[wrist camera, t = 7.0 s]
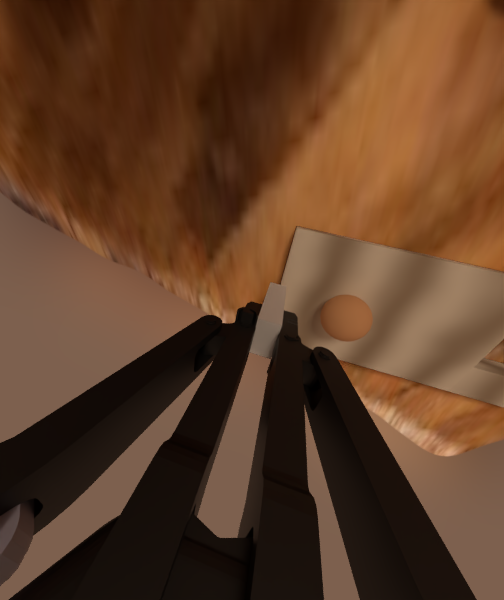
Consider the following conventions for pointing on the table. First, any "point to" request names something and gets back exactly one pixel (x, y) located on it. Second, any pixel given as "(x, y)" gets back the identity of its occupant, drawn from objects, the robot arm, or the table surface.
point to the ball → (346, 318)
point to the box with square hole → (402, 311)
